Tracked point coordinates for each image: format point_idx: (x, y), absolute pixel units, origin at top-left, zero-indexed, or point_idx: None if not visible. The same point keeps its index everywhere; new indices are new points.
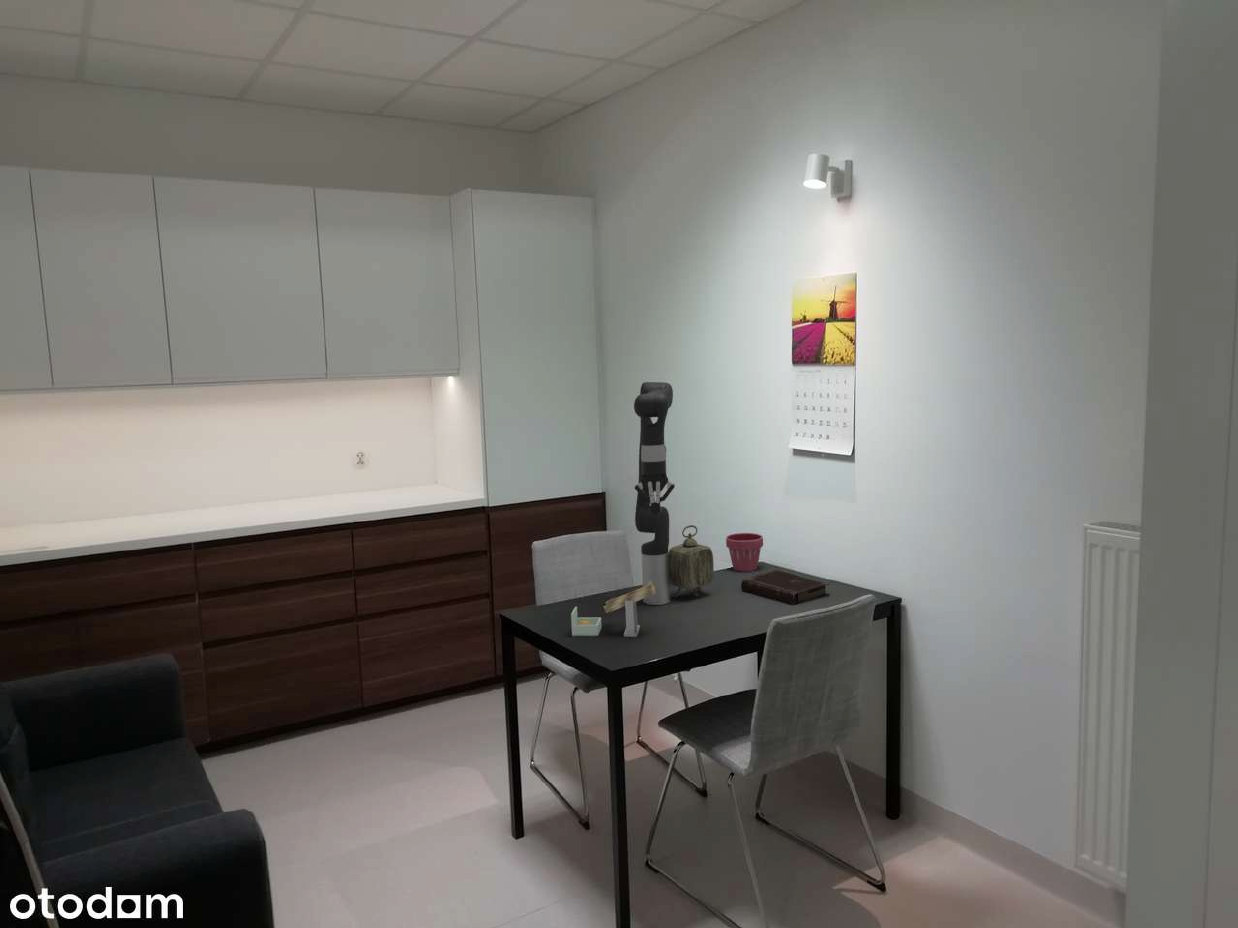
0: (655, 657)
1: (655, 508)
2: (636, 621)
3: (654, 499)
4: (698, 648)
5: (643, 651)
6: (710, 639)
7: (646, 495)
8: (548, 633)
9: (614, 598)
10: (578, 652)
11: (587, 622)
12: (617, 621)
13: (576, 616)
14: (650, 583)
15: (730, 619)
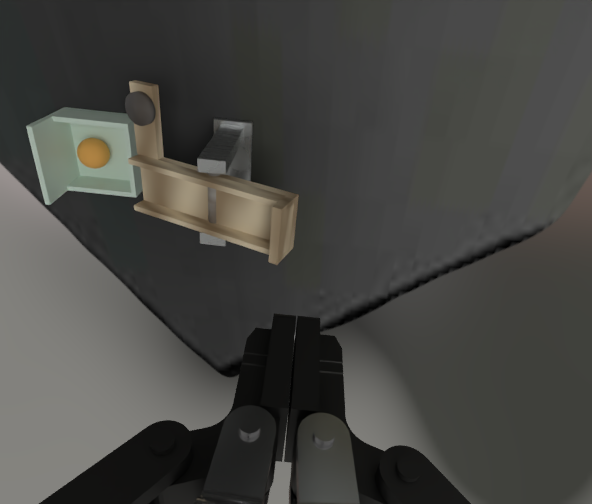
0: (296, 324)
1: (288, 411)
2: (241, 142)
3: (272, 463)
4: (392, 290)
5: (271, 293)
6: (433, 240)
7: (144, 499)
8: (3, 146)
9: (148, 117)
10: (131, 283)
11: (98, 161)
12: (175, 48)
13: (51, 136)
14: (278, 251)
15: (548, 71)
